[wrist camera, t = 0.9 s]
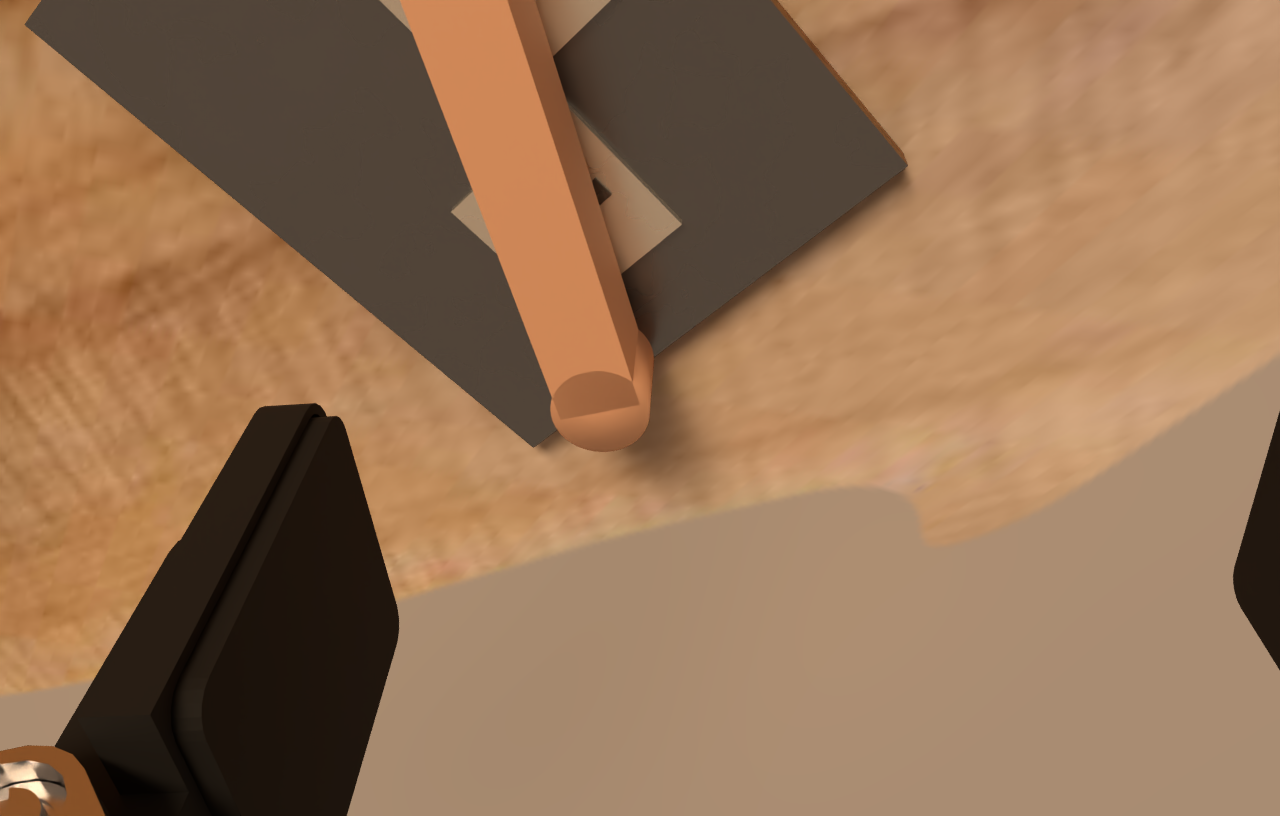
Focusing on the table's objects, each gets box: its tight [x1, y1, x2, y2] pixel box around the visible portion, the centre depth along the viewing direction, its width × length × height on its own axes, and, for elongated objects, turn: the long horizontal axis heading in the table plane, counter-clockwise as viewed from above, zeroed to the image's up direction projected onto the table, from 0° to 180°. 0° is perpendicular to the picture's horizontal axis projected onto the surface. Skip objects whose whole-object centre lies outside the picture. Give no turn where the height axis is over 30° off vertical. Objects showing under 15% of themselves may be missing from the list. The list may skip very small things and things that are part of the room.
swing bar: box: [400, 0, 654, 452], centre depth 29 cm, size 18×3×3 cm, turn 15°
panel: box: [25, 0, 908, 448], centre depth 29 cm, size 16×20×6 cm
